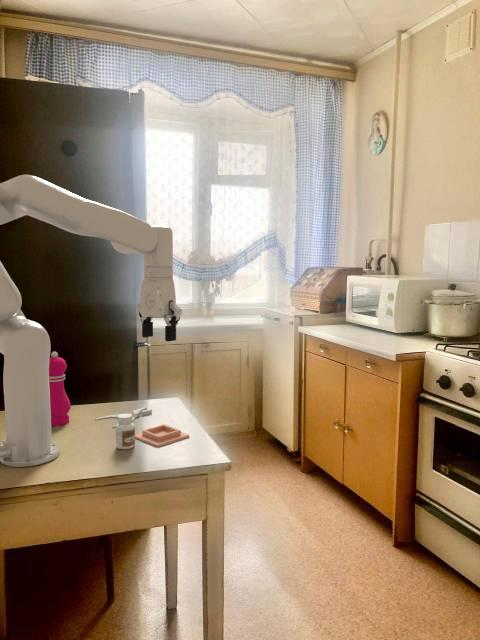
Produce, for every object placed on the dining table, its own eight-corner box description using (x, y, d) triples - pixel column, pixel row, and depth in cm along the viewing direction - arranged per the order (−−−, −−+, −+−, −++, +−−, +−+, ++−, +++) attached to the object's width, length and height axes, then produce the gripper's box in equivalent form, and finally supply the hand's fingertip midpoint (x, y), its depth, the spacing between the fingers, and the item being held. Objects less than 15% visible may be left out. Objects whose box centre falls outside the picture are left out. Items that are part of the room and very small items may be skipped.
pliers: (94, 415, 145) (139, 404, 156) (94, 421, 146) (139, 410, 156) (113, 423, 139) (158, 411, 149) (113, 429, 139) (159, 417, 149)
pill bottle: (126, 451, 122) (125, 419, 121) (112, 447, 124) (111, 416, 123) (138, 445, 126) (138, 414, 125) (125, 442, 128) (124, 411, 127)
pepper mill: (37, 425, 141) (34, 353, 138) (55, 417, 147) (52, 348, 145) (60, 428, 138) (56, 354, 136) (76, 420, 145) (73, 350, 143)
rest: (157, 447, 124) (157, 440, 124) (133, 437, 131) (133, 430, 131) (189, 437, 132) (189, 430, 131) (165, 428, 138) (165, 421, 138)
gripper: (126, 273, 138) (127, 336, 140) (168, 274, 126) (168, 344, 128) (149, 273, 143) (150, 334, 145) (191, 274, 131) (191, 341, 133)
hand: (158, 338), depth 136 cm, fingers open, 9 cm apart
